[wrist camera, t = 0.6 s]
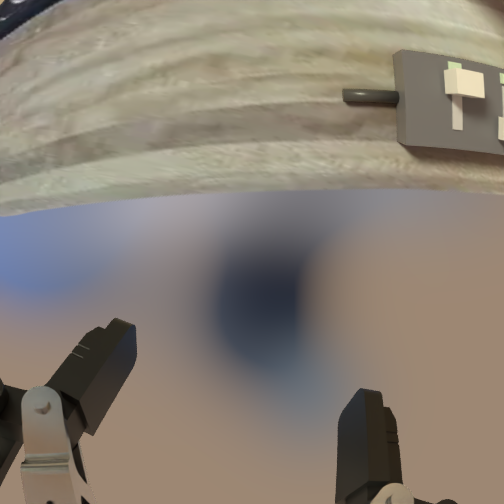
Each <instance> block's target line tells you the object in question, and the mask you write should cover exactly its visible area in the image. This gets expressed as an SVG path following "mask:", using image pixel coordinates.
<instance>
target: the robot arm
mask: <svg viewBox="0 0 504 504" xmlns="http://www.w3.org/2000/svg"><path fill="white" fill-rule="evenodd" d="M136 357H137V344H136V327H135V325H133V324H131V323H128V322H125V321H123V320H120V319H118V318H114V319H113V320H112V321H111V322H110V324H109V325H108V326H107V327H106V329H103V328H101V327H97V328H95V329H94V330H92V331H90V332H88V333H86V335H85V336H84V337H83V338H82V340H81V341H80V342H79V343H78V346H76V347H75V348H74V349H73V351H72V353H71V354H69V356H68V357H67V358H66V359H65V361H64V362H63V363H62V365H61V366H60V367H59V368H58V370H57V371H56V372H55V374H54V375H53V376H52V377H51V379H50V380H49V381H48V383H47V384H45V385H44V386H36V387H33V388H31V389H29V390H22V389H18V388H15V387H11V386H7V385H4V384H3V382H2V380H1V379H0V486H1V484H2V482H3V480H4V478H5V476H6V474H7V472H8V470H9V468H10V466H11V464H12V462H13V461H14V459H15V457H16V455H17V453H18V452H19V450H20V448H21V446H22V444H23V443H24V449H25V461H24V462H22V463H21V478H22V484H23V490H24V496H25V501H26V504H97V501H96V498H95V496H94V494H93V492H92V489H91V486H90V483H89V480H88V476H87V472H86V468H85V464H84V459H83V455H82V451H81V446H80V441H79V439H80V437H81V436H82V434H83V432H86V433H88V434H90V435H92V436H93V435H94V434H95V432H96V430H97V428H98V427H99V425H100V423H101V421H102V420H103V418H104V416H105V415H106V413H107V411H108V409H109V408H110V406H111V404H112V403H113V401H114V399H115V397H116V396H117V394H118V392H119V391H120V389H121V387H122V386H123V384H124V382H125V381H126V379H127V377H128V375H129V374H130V372H131V370H132V369H133V367H134V364H135V361H136ZM398 442H399V441H398V435H397V424H396V419H395V417H394V415H393V414H392V411H391V410H390V408H389V407H383V399H382V394H381V392H379V391H374V390H368V389H363V388H360V389H359V390H358V391H357V392H356V394H355V395H354V397H353V398H352V399H351V401H350V402H349V403H348V404H347V406H346V407H345V408H344V410H343V411H342V413H341V415H340V418H339V422H338V447H337V476H336V495H335V504H432V503H429V502H425V501H422V500H419V499H416V498H414V497H413V495H412V493H411V491H410V490H409V489H408V488H407V487H406V486H404V485H403V482H402V471H401V460H400V450H399V445H398ZM437 504H457V503H456V502H455V501H453V500H450V499H445V500H442V501H440V502H438V503H437Z"/></svg>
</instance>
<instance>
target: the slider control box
mask: <svg viewBox="0 0 504 504" xmlns="http://www.w3.org/2000/svg"><path fill="white" fill-rule="evenodd" d="M393 64H394V76H395V90H396V91H389V90H371V89H343V91H342V93H343V101H351V102H380V103H396V111H397V142H400V143H402V144H404V145H410V146H425V147H438V148H449V149H460V150H469V151H477V152H485V153H493V154H500V155H504V140H500V139H498V131H499V117H504V69H501V68H498V67H494V66H490V65H486V64H482V63H478V62H474V61H469V60H464V59H460V58H455V57H449V56H444V55H438V54H431V53H425V52H417V51H409V50H400V51H398V52H396V53H395V54H393ZM452 68H460V69H465V70H470V71H475V72H479V73H483V77H484V94H485V98H469V97H463V96H457V95H451V94H445V80H444V70H447V69H452Z"/></svg>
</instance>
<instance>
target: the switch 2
mask: <svg viewBox="0 0 504 504" xmlns="http://www.w3.org/2000/svg"><path fill="white" fill-rule="evenodd" d="M498 139H500V140H504V117H499V131H498Z"/></svg>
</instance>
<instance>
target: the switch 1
mask: <svg viewBox="0 0 504 504" xmlns="http://www.w3.org/2000/svg"><path fill="white" fill-rule="evenodd" d="M444 80H445V94H451V95H457V96H463V97H469V98H485V94H484V77H483V73H479V72H475V71H470V70H465V69H460V68H452V69H447V70H444Z"/></svg>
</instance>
